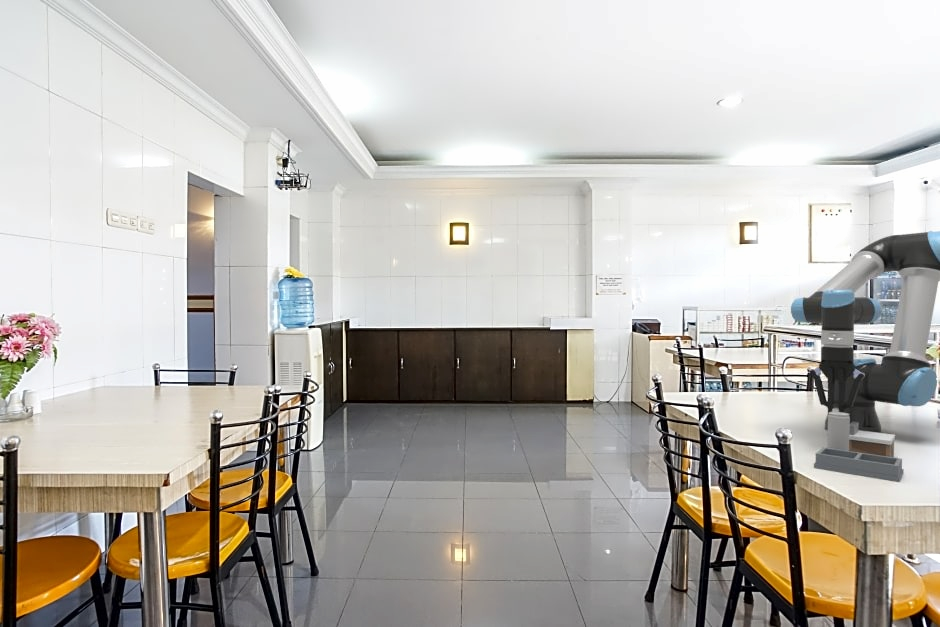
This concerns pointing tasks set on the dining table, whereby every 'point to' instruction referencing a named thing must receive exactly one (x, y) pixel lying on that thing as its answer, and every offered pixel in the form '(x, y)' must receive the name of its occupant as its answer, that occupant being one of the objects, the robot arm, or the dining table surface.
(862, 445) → the tray
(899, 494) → the dining table surface
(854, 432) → the lid
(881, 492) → the dining table surface
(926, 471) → the dining table surface
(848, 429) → the beverage can
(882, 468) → the socket board
